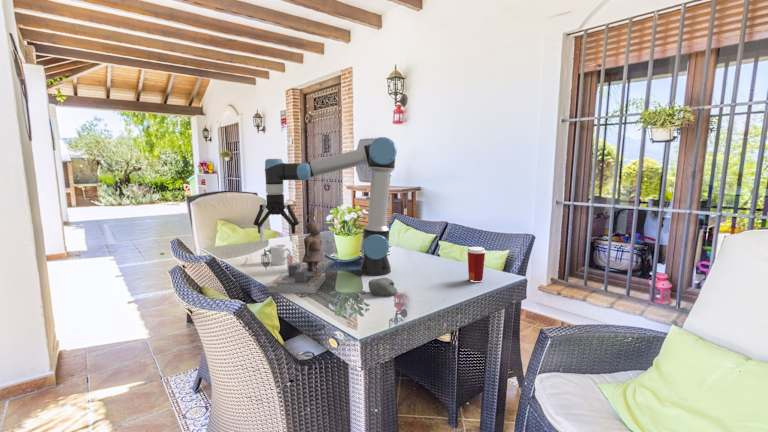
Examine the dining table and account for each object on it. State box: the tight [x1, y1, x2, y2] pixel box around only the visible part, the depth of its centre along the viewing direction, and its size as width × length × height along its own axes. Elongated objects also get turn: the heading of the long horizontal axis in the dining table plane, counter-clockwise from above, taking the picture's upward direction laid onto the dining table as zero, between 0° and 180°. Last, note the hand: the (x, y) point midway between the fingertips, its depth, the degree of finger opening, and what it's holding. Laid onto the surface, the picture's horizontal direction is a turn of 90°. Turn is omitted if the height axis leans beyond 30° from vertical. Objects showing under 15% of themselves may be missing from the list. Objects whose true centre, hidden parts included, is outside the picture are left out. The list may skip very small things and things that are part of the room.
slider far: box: [287, 261, 302, 276], centre depth 173 cm, size 4×5×6 cm
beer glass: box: [466, 246, 487, 281], centre depth 172 cm, size 8×8×15 cm
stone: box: [367, 277, 398, 297], centre depth 156 cm, size 9×9×10 cm
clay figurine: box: [302, 220, 325, 271], centre depth 192 cm, size 13×10×25 cm
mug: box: [270, 244, 292, 266], centre depth 206 cm, size 8×12×10 cm
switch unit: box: [267, 270, 327, 294], centre depth 168 cm, size 20×20×4 cm
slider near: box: [295, 267, 308, 283], centre depth 162 cm, size 4×5×6 cm
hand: (277, 240), depth 172 cm, fingers open, 13 cm apart
